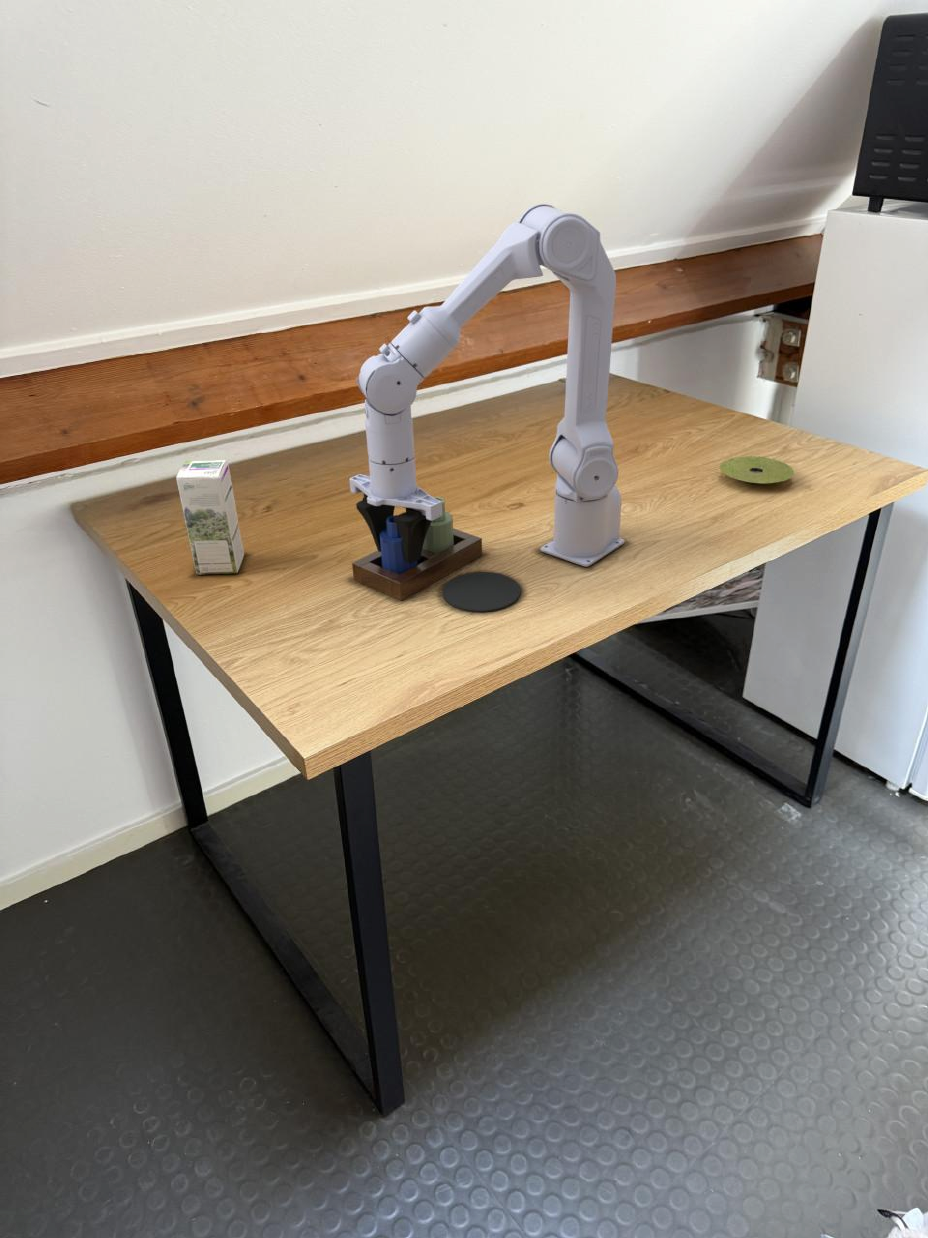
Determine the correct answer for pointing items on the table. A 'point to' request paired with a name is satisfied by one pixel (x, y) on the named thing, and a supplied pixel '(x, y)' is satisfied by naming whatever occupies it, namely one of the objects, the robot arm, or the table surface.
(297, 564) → the table surface
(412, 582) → the bottle rack
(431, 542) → the sage bottle
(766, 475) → the mat
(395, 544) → the blue bottle
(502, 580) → the coaster
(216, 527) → the syrup box
